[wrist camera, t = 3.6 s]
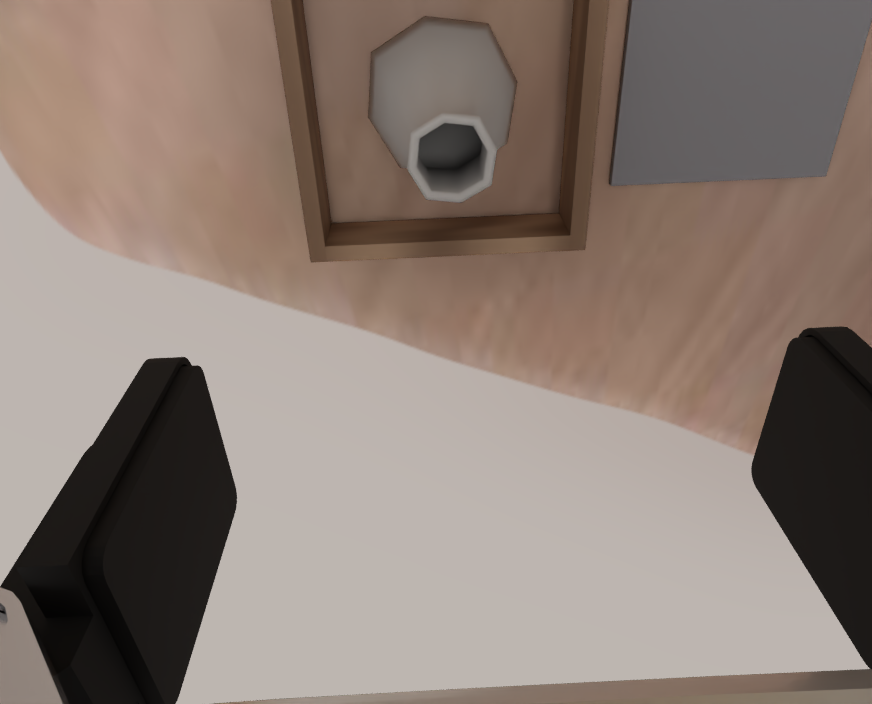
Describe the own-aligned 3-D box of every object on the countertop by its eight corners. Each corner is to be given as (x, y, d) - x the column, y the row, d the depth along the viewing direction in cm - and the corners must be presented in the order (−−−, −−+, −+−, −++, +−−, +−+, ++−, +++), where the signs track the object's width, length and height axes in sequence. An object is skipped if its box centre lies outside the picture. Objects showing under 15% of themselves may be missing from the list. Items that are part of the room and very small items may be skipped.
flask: (504, -5, 29) (541, 22, 20) (527, 155, 33) (566, 232, 24) (346, 35, 29) (320, 76, 21) (387, 187, 33) (378, 273, 25)
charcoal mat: (895, -83, 28) (901, -83, 27) (821, 173, 34) (825, 176, 33) (637, -72, 28) (640, -72, 27) (609, 183, 34) (611, 185, 33)
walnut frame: (598, -79, 27) (616, -80, 25) (572, 226, 35) (585, 249, 32) (274, -65, 27) (260, -65, 25) (318, 238, 35) (310, 262, 32)
